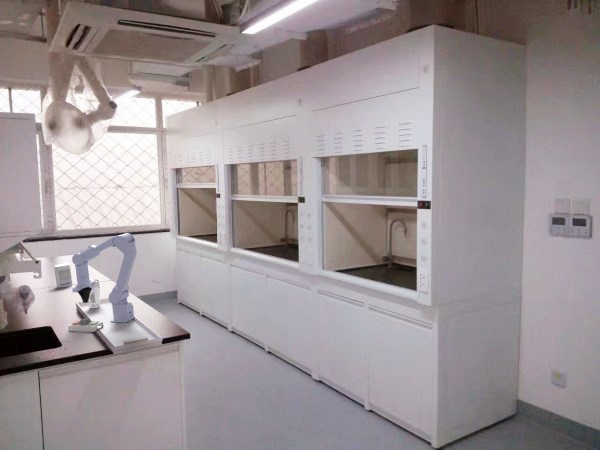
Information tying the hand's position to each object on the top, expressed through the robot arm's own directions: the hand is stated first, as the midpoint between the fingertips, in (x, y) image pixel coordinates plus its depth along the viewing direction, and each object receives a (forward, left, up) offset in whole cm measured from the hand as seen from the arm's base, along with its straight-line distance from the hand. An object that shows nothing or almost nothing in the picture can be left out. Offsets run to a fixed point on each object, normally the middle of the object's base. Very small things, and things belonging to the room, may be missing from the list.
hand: (85, 302), depth 242 cm
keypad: (-8, +12, -9) cm, 17 cm away
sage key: (-13, +12, -9) cm, 19 cm away
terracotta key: (-4, +12, -8) cm, 15 cm away
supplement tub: (+69, -67, -10) cm, 97 cm away
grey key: (-8, +12, -7) cm, 16 cm away
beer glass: (+12, -22, -10) cm, 27 cm away
